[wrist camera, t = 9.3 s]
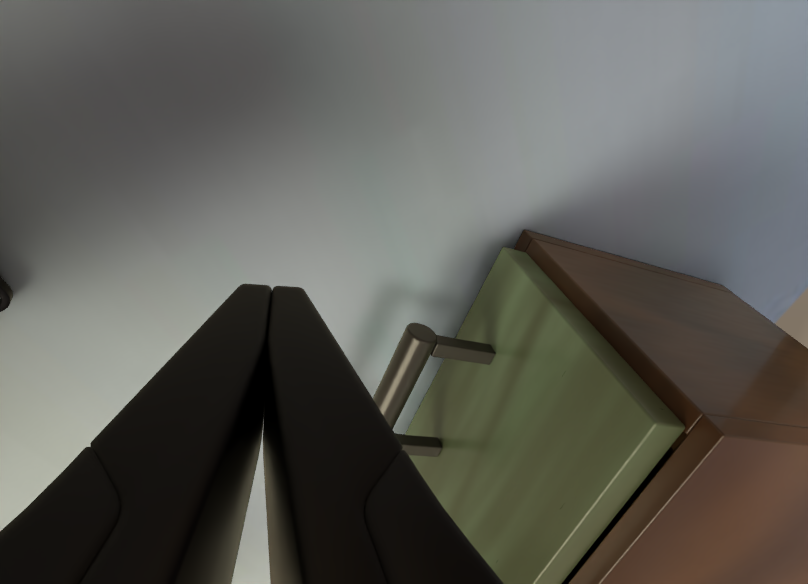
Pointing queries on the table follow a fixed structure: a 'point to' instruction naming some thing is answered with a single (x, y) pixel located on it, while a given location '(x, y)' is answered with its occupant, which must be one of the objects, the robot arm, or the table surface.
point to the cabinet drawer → (529, 425)
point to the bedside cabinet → (699, 424)
